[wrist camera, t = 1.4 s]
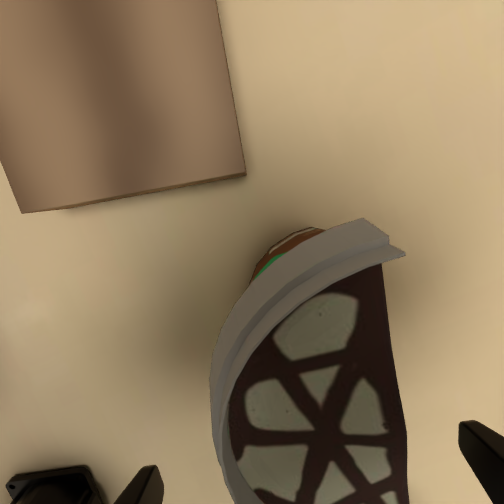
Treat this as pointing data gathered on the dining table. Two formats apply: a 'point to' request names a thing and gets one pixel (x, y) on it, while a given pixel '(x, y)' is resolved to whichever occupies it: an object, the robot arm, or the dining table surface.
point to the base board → (113, 100)
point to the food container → (312, 376)
